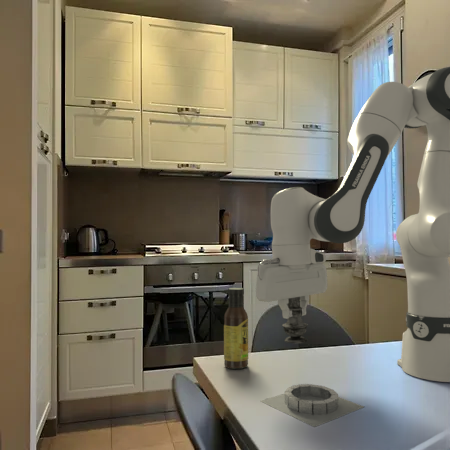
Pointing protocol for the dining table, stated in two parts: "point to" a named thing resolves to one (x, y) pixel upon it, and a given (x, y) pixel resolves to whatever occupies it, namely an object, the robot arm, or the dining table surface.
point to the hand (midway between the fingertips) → (294, 316)
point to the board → (312, 420)
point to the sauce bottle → (235, 331)
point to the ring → (311, 406)
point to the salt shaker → (295, 323)
